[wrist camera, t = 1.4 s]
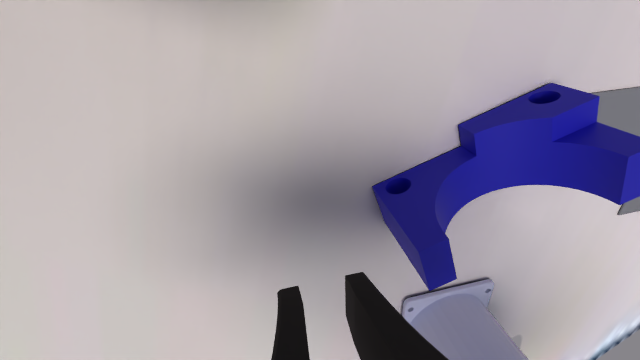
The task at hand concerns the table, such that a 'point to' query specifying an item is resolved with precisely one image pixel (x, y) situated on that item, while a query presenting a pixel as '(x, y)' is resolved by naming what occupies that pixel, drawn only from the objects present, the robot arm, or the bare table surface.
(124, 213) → the table surface
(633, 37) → the table surface
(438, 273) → the cable clip
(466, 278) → the table surface
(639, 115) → the t marking
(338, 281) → the table surface
